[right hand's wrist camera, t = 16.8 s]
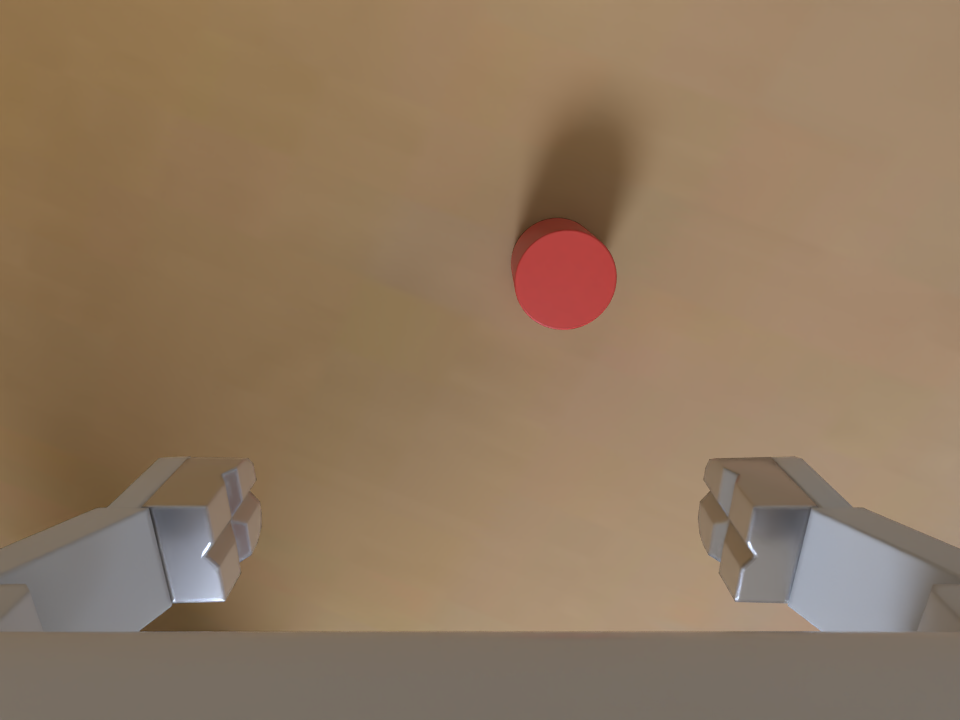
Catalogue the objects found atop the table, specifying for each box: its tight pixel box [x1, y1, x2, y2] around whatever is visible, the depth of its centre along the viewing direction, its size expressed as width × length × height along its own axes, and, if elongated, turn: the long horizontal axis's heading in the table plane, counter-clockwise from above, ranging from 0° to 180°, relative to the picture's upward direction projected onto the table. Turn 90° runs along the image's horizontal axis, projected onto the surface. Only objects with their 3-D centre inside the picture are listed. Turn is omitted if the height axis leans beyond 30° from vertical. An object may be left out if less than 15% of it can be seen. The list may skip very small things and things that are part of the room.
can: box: [511, 218, 617, 330], centre depth 26 cm, size 4×4×4 cm
